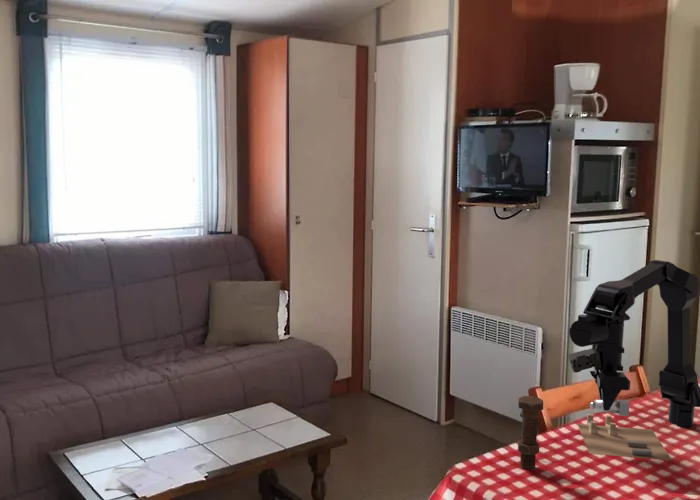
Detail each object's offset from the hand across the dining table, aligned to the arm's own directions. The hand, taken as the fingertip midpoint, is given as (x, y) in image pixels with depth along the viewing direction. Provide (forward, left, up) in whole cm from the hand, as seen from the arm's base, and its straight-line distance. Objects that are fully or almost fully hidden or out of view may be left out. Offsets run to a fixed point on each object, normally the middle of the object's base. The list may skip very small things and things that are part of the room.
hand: (604, 407), depth 159 cm
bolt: (+12, -17, -10) cm, 24 cm away
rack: (-11, +2, -10) cm, 15 cm away
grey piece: (0, +1, -1) cm, 1 cm away
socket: (0, +8, -10) cm, 12 cm away
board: (-5, +5, -10) cm, 13 cm away
